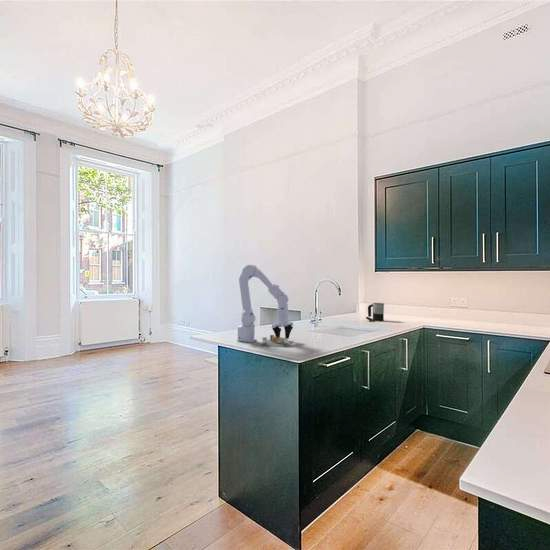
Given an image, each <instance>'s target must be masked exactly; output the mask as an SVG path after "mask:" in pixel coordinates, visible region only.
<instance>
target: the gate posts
mask: <svg viewBox="0 0 550 550" xmlns="http://www.w3.org/2000/svg"><path fill="white" fill-rule="evenodd" d="M283 338H284V345H285V346H287V345H288V341H289V339H288V338H285V337H283ZM261 339H262V343H263V345H267V340H268V337H266V336H264V337H262V338H261Z"/></svg>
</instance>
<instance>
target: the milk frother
mask: <svg viewBox="0 0 550 550" xmlns="http://www.w3.org/2000/svg"><path fill="white" fill-rule="evenodd" d="M384 308H385V303H383V302H373V303H371V304H369V305H368V306H367V316H365V319H366V320H368V321H369V322H384V321H385V320H384V319H385V318H384V316H385V315H384V313H385V309H384ZM371 317H372V318H371Z"/></svg>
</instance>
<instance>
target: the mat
mask: <svg viewBox="0 0 550 550" xmlns="http://www.w3.org/2000/svg"><path fill="white" fill-rule="evenodd" d="M292 343H294V341H293V340H288V345H287V346H285V345H284V343H283V344H282V343H278V342H273V341H270V339H267V345H263V342H262V343H261V344H260V346H263V347H279V348H288V347H289V346H290V345H291V344H292Z"/></svg>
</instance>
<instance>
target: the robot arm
mask: <svg viewBox="0 0 550 550" xmlns="http://www.w3.org/2000/svg"><path fill="white" fill-rule="evenodd" d="M253 277H254V278H257V279H259V280H260V281H261V282H262V283H263V284H264V285H265V287H267V289H268V292H269V294H270V295H271V296H272V297H273V298H274V299H275V300H276V301H277V322H276V323H272V324H271V329H272V331H273V333H274V336H276V337H281V331H282V328H281V327H283V329H284V338H288V340H289V339H290V335H291V332H292V330H293V328H294V327H293V326H294V322H293V321H289V307H288V306H289V304H288V302H289V297H288V294H286V293H285V292H284V291H282V290H281V288H280V286H279V285H278V284H276V283H274V284H273V283H272V282H271V281H270V279H269V278H268V277H267V275H265V274H264V273H263V272H262V270H261V269H260V268H258V267H257V265H254V264H247V265H246V266H244V267H243V268H242V271H241V274H240V276H239V279H238V283H239V289H240V290H239V291H240V297H241V299H240V300H241V304H242V312H241V315H242V317H241V323H242V324H239V325H238V327H237V340H236V342H244V343H246V342H248V343H254V342H255V341H257V338H255V322H256V316H255V314H254V311H253V309H252V303H251V294H250V287H249V281H250V280H251V279H252V278H253Z"/></svg>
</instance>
